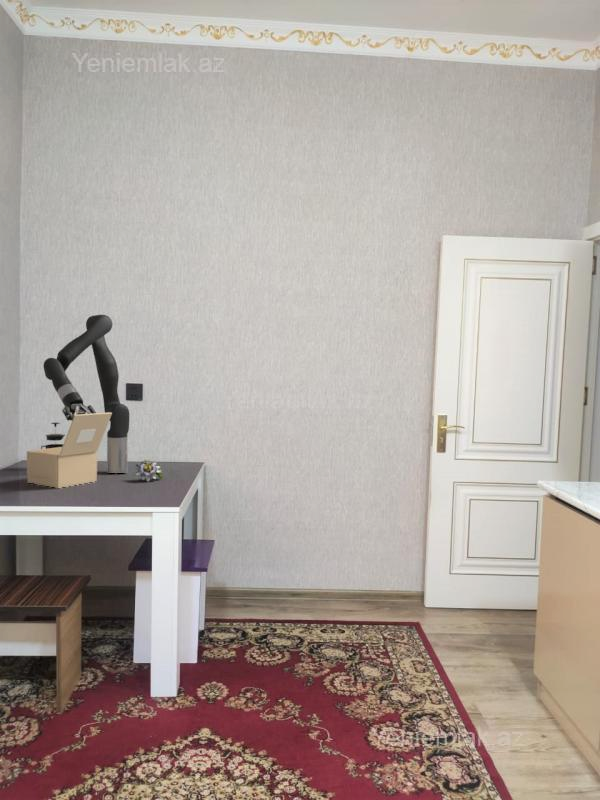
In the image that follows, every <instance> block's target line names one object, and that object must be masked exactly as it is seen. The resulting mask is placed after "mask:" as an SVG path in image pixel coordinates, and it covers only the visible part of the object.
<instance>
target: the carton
mask: <svg viewBox="0 0 600 800" xmlns="http://www.w3.org/2000/svg"><path fill="white" fill-rule="evenodd" d="M61 449H62V447H57V448H48V449H46V448H42V449H41V448H40V449H34V450H33V449H32V450H27V451H26V475H27V483H28V482H32V483H37V484H41V485H45V486H50V487H49V488H51V487H55V488H54V489H57V488H60V489H63V488H62V487H66V488H70V487H69V486H71V487H75V486H74V485H77V486H80V485H79V484H82V485H85V484H84V483H88V484H90V483H89V482H93V483H96V482H95V481H98V480H97V479H98V478H97V477H98V476H97V474H98V450H97V451H96V452H88V453H80V454H73V455H65V456H60V452H61ZM45 486H44V487H45Z"/></svg>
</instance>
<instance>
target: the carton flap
mask: <svg viewBox="0 0 600 800" xmlns="http://www.w3.org/2000/svg"><path fill="white" fill-rule="evenodd" d="M111 415H112V413H111V412H110V413H105V412H96V413H94V414H87V413H85V414H79V415H74V418H73V420H72V421H71V423H70V426H69V429H68V431H67V434H66V435H65V439H64V442H63V443H62V444H63V447H62V449H61V452H60V456H65V455H73V454H80V453H88V452H96V451H97V452H98V449H99V448H100V445H101V443H102V441H103V437H104V436H105V433H106V430H107V427H108V425H109V423H110V421H109V420H110V417H111Z"/></svg>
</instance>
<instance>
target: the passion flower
mask: <svg viewBox="0 0 600 800" xmlns="http://www.w3.org/2000/svg"><path fill="white" fill-rule="evenodd" d="M157 463H158V461H157V460H156V461H150V460H149V458H147V457H146V458H145V460H143V461H141V462H138V463H135V466H136V467H135V469H136V470H137V471H136V472H135V473H134V476H140V479H141V481H145V482H146V481H149V482H150V480H151V479H152V478H153V480H156V479H157V476H158V478H159V479H160V480H161V479H162V480H163V478H164V477H163V476H164V475H163V471H162V470H161V465H160V466H159V465H157Z"/></svg>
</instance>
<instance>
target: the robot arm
mask: <svg viewBox="0 0 600 800" xmlns="http://www.w3.org/2000/svg"><path fill="white" fill-rule="evenodd" d="M112 328H113V321H112V319H111V317H109V316H108V315H106V314H96V315H90V316H89V317H88V318H87V319H86V321H85V329H86V331H85V332H83V333H82V334H80V335H79V336H77V337H75V338H74V339H72V340H71V341H69V342H68V343H66V345H65V346H63V347H62V348H61V349H60V350H59V351H58V353H57V356H56V358H55V357H48V358H46V359H45V360H44V362H43V366H42V367H43V370H44V371H43V372H44V376H45V377H46V379H48V380H49V381H51V383H52V387H53V388H54V390H55V391H56V393H57V395H58V397H59V399H60V401H61V403H63V405H64V406H63V408H62V410H61V411H62V413H63V415H64V416H65V418H66V420H67V421H71V422H72V420H73V418H74V415H79V414H94V413H97V412H96V410H95V409H94V407H93V406H92V405H91V404H88V405H87V406H86V405H84V400H83V397H81V395H80V394H79V392H78V390H77V389H76V388H75V386H74V385H73V383H72V381H70V379H69V377H68V375H67V373H66V371H67V370H68V368H69V367H70V365H71V364H72V363H73V362H74V361H75V360H76V359H77V358H78V357H80V356H81V354H82V353H83V352H84V351H86V350H87V349H88V348H89V347H90V346H91V348H92V352H93V357H94V361H95V366H96V371H97V376H98V380H99V385H100V389H101V392H102V393H101V394H102V397H103V400H102V401H103V409H104V413H110V412H111V413H112V415H111V417H110V420H109V423H110V424H109V425H110V426H109V429H108V430H107V432H106V433H107V434H106V441H107V442H106V452H107V453H106V473H107V472H108V473H125V474H128V433H129V431H130V430H129V429H130V410H129V407H128V406H127V405H125V404H123V403H121V402H120V396H119V393H118V389H119V388H118V387H119V376H120V375H119V369H118V365H117V361H116V358H115V357H114V355H113V353H112V352H111V350H110V349H109V347H108V345H107V342H106V338H105V335H107V334H109V332H111V330H112ZM108 473H107V474H108Z"/></svg>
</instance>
